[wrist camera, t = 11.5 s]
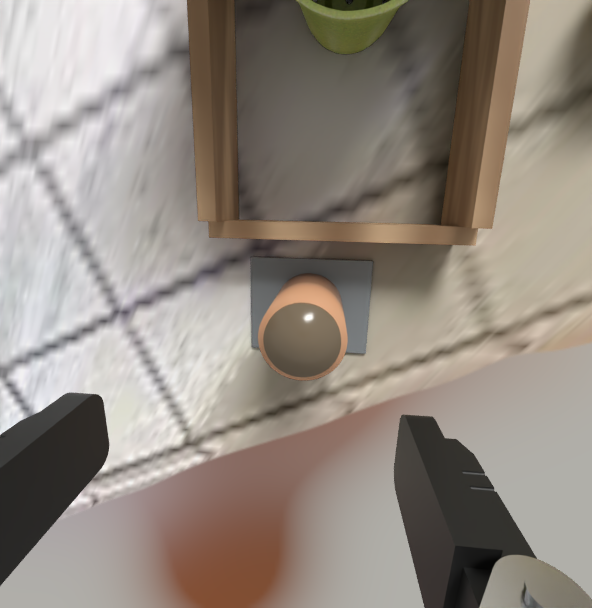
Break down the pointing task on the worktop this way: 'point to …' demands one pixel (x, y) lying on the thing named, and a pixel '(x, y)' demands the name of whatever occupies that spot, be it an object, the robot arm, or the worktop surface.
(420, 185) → the worktop surface
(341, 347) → the tan cylinder
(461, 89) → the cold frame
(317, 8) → the plant pot
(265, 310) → the mat
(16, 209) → the worktop surface
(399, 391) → the worktop surface
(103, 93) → the worktop surface
